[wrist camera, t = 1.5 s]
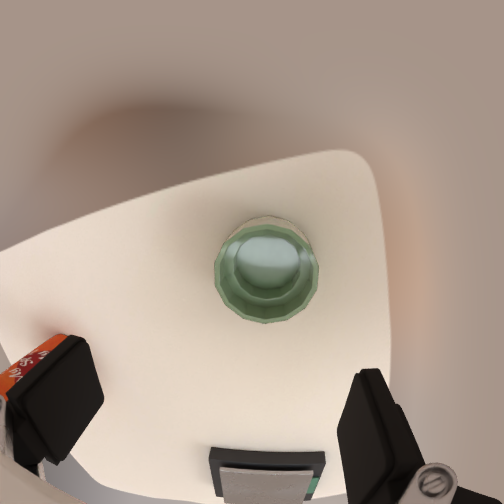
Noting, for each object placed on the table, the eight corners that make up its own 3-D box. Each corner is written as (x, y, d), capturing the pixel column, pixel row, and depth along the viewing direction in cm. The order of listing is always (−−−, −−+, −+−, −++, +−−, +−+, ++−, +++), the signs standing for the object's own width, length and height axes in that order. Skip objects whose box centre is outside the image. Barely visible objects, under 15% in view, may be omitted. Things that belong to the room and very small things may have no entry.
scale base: (324, 451, 28) (326, 465, 26) (309, 490, 31) (310, 502, 29) (211, 447, 29) (207, 460, 27) (217, 486, 32) (215, 497, 30)
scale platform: (313, 470, 26) (313, 474, 25) (301, 503, 28) (301, 506, 28) (220, 466, 26) (219, 470, 26) (225, 500, 29) (224, 503, 29)
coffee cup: (67, 316, 26) (-25, 390, 11) (109, 375, 27) (41, 467, 13) (36, 335, 28) (-38, 397, 13) (73, 387, 29) (13, 459, 15)
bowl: (313, 216, 21) (321, 225, 17) (307, 300, 23) (313, 325, 19) (225, 214, 22) (213, 222, 18) (226, 297, 24) (216, 321, 20)
